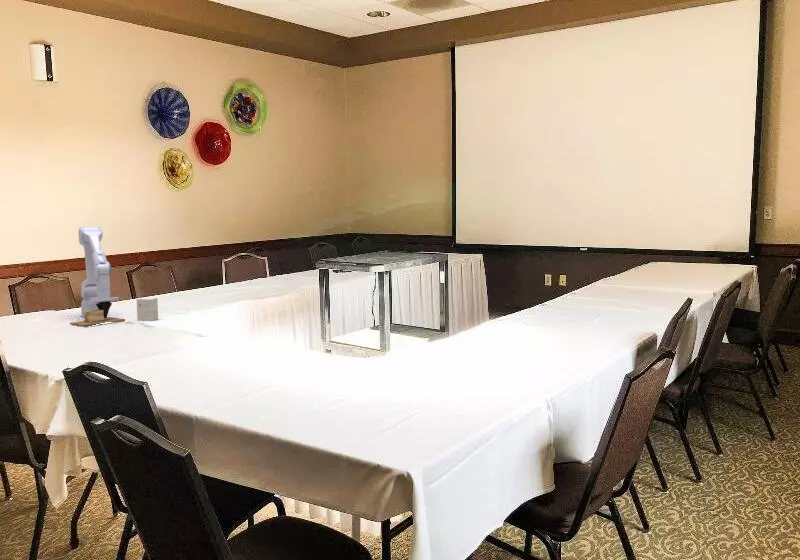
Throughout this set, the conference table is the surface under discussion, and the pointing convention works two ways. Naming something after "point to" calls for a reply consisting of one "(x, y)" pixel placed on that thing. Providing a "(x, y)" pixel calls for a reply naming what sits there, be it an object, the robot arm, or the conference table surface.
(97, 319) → the block
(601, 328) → the conference table surface
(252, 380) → the conference table surface
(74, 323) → the board
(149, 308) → the small box
